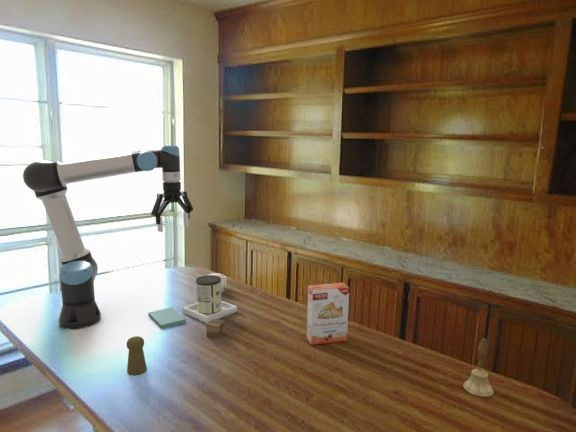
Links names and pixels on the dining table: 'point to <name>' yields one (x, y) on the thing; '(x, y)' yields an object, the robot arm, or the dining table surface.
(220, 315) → the tray
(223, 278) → the mug
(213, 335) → the walnut block
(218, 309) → the coffee can
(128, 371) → the cork
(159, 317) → the teal notebook
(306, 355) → the dining table surface
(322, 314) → the cracker box
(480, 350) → the hand bell
